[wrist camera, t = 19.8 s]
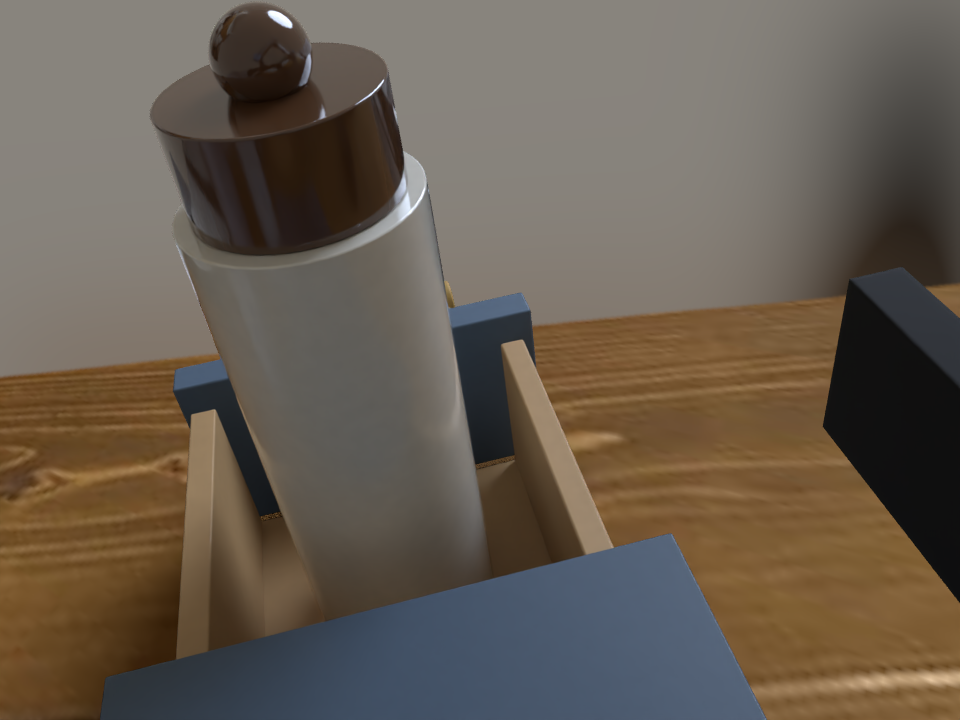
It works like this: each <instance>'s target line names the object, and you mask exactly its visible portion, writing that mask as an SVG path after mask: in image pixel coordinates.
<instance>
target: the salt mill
mask: <svg viewBox="0 0 960 720" xmlns="http://www.w3.org/2000/svg"><path fill="white" fill-rule="evenodd" d="M208 56H209V63H210V64H209V65H207V66H205V67H202V68H200V69H198V70H196V71H194V72H192V73H190V74H188V75H186V76H184V77H182V78H181V79H179V80H177V81H176V82H174V83H173V84H171V85H170V86H169V87H167V88H166V89H165V90H164V91H163V92H162V93H161V94H160V95H159V96H158V97H157V98H156V99H155V101H154V102H153V104H152V107H151V109H150V120H151V122H152V125H153V128H154V131H155V133H156V136H157V139H158V141H159V144H160V147H161V149H162V152H163V155H164V157H165V160H166V163H167V165H168V168H169V171H170V173H171V176H172V179H173V181H174V184H175V187H176V189H177V192H178V195H179V198H180V200H181V204H180V206H179V207H178V209H177V211H176V213H175V215H174V219H173V223H172V234H173V237H174V240H175V243H176V245H177V248H178V250H179V253H180V256H181V258H182V261H183V263H184V266H185V268H186V271H187V274H188V276H189V279H190V281H191V284H192V287H193V289H194V291H195V294H196V297H197V299H198V302H199V304H200V307H201V310H202V312H203V315H204V317H205V319H206V322H207V325H208V327H209V330H210V333H211V335H212V337H213V340H214V343H215V345H216V348H217V350H218V353H219V356H220V358H221V361H222V363H223V366H224V368H225V371H226V374H227V376H228V379H229V381H230V384H231V386H232V389H233V391H234V394H235V397H236V399H237V402H238V404H239V407H240V409H241V412H242V414H243V417H244V420H245V422H246V425H247V427H248V430H249V432H250V435H251V437H252V440H253V443H254V445H255V448H256V450H257V453H258V455H259V458H260V461H261V463H262V466H263V468H264V471H265V473H266V476H267V478H268V481H269V484H270V486H271V489H272V491H273V494H274V496H275V499H276V501H277V504H278V507H279V509H280V512H281V514H282V517H283V519H284V522H285V524H286V527H287V530H288V532H289V535H290V537H291V540H292V542H293V545H294V548H295V550H296V553H297V555H298V558H299V560H300V563H301V565H302V568H303V571H304V573H305V576H306V578H307V581H308V583H309V586H310V588H311V591H312V594H313V596H314V599H315V601H316V604H317V606H318V609H319V611H320V614H321V617H322V619H323V622H325V621H329V620H333V619H337V618H341V617H345V616H348V615H352V614H356V613H360V612H364V611H368V610H372V609H376V608H380V607H384V606H388V605H392V604H396V603H399V602H403V601H407V600H411V599H415V598H419V597H423V596H427V595H431V594H435V593H439V592H443V591H446V590H450V589H454V588H458V587H462V586H466V585H470V584H474V583H478V582H482V581H486V580H490V579H493V578H495V577H494V572H493V566H492V560H491V554H490V548H489V542H488V536H487V530H486V524H485V519H484V513H483V507H482V501H481V495H480V489H479V483H478V477H477V471H476V466H475V460H474V454H473V448H472V442H471V436H470V430H469V424H468V418H467V412H466V407H465V401H464V395H463V389H462V383H461V377H460V371H459V365H458V359H457V354H456V348H455V342H454V336H453V330H452V324H451V318H450V312H449V306H448V301H447V295H446V289H445V283H444V277H443V271H442V265H441V259H440V254H439V248H438V242H437V236H436V230H435V224H434V218H433V212H432V206H431V200H430V194H429V189H428V183H427V178H426V173H425V171H424V169H423V168H422V166H421V164H420V163H419V162H417V160H416V159H415V158H414V157H412V156H411V155H410V154H408V153H406V152H404V151H403V148H402V143H401V137H400V132H399V126H398V121H397V115H396V110H395V104H394V99H393V94H392V88H391V83H390V78H389V72H388V67H387V65H386V63H385V61H384V60H383V59H382V58H381V57H380V56H379V55H378V54H376V53H374V52H373V51H370V50H368V49H365V48H362V47H358V46H354V45H347V44H338V43H310V40H309V37H308V35H307V33H306V31H305V29H304V28H303V26H302V25H301V24H300V22H299V21H298V20H297V19H296V18H295V17H294V16H293V15H292V14H290V13H289V12H288V11H286V10H285V9H283V8H281V7H279V6H277V5H274V4H271V3H267V2H261V1H260V2H259V1H253V2H245V3H242V4H239V5H237V6H235V7H233V8H231V9H229V10H228V11H227V12H225V13H224V14H223V15H222V16H221V17H220V18H219V20H218V21H217V23H216V24H215V26H214V28H213V30H212V32H211V36H210V39H209V45H208Z"/></svg>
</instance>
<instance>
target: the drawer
mask: <svg viewBox="0 0 960 720" xmlns="http://www.w3.org/2000/svg"><path fill="white" fill-rule="evenodd" d="M444 283H445V289H446V295H447V301H448V306H449V312H450V318H451V324H452V330H453V336H454V342H455V348H456V354H457V359H458V365H459V371H460V377H461V383H462V389H463V395H464V401H465V407H466V412H467V418H468V424H469V430H470V436H471V442H472V448H473V454H474V460H475V464H479V463H483V462H487V461H491V460H496V459H500V458H504V457H508V456H512V455H515V460H513V461H509V462H505V463H501V464H497V465H492V466H488V467H484V468H480V469H476V471H477V477H478V483H479V489H480V495H481V501H482V507H483V513H484V519H485V524H486V530H487V536H488V542H489V548H490V554H491V560H492V566H493V572H494V577H495V578H497V577H501V576H505V575H509V574H513V573H517V572H521V571H525V570H529V569H533V568H537V567H540V566H544V565H548V564H552V563H556V562H560V561H564V560H568V559H572V558H576V557H580V556H584V555H587V554H591V553H595V552H599V551H603V550H607V549H611V548H614V547H613V545H612V543H611V540H610V538H609V536H608V533H607V531H606V529H605V526H604V524H603V522H602V520H601V517H600V515H599V513H598V510H597V508H596V506H595V503H594V501H593V499H592V497H591V494H590V492H589V490H588V487H587V485H586V483H585V480H584V478H583V476H582V474H581V471H580V469H579V467H578V464H577V462H576V460H575V457H574V455H573V453H572V451H571V448H570V446H569V444H568V441H567V439H566V437H565V434H564V432H563V430H562V428H561V425H560V423H559V421H558V418H557V416H556V414H555V411H554V409H553V407H552V404H551V402H550V400H549V398H548V395H547V393H546V391H545V388H544V386H543V384H542V381H541V379H540V377H539V375H538V372H537V370H536V362H535V352H534V341H533V331H532V321H531V311H530V309H529V306H528V304H527V302H526V300H525V298H524V296H523V294H522V293H517V294H512V295H508V296H503V297H499V298H495V299H490V300H485V301H481V302H476V303H472V304H467V305H463V306H458V307H455V305H454V300H453V296H452V292H451V288H450V285H449V283H448V282H447V281H444ZM173 392H174V395H175V397H176V399H177V401H178V403H179V406H180V408H181V410H182V412H183V415H184V417H185V419H186V421H187V423H188V426H189V428H190V441H189V457H188V473H187V489H186V505H185V521H184V537H183V554H182V570H181V586H180V602H179V618H178V634H177V650H176V659H180V658H184V657H188V656H192V655H196V654H200V653H204V652H207V651H211V650H215V649H219V648H223V647H227V646H231V645H235V644H239V643H243V642H247V641H251V640H254V639H258V638H262V637H266V636H270V635H274V634H278V633H282V632H286V631H290V630H294V629H298V628H301V627H305V626H309V625H313V624H317V623H321V622H323V619H322V617H321V614H320V611H319V609H318V606H317V604H316V601H315V599H314V596H313V594H312V591H311V588H310V586H309V583H308V581H307V578H306V576H305V573H304V571H303V568H302V565H301V563H300V560H299V558H298V555H297V553H296V550H295V548H294V545H293V542H292V540H291V537H290V535H289V532H288V530H287V527H286V524H285V522H284V519H283V517H278V518H274V519H270V520H265V521H262V520H261V518H260V516H264V515H268V514H272V513H276V512H280V509H279V507H278V504H277V501H276V499H275V496H274V494H273V491H272V489H271V486H270V484H269V481H268V478H267V476H266V473H265V471H264V468H263V466H262V463H261V461H260V458H259V455H258V453H257V450H256V448H255V445H254V443H253V440H252V437H251V435H250V432H249V430H248V427H247V425H246V422H245V420H244V417H243V414H242V412H241V409H240V407H239V404H238V402H237V399H236V397H235V394H234V391H233V389H232V386H231V384H230V381H229V379H228V376H227V374H226V371H225V368H224V366H223V363H222V361H221V360H216V361H212V362H208V363H203V364H199V365H194V366H190V367H185V368H181V369H177V370H175V376H174V387H173Z"/></svg>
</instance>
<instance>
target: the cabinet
mask: <svg viewBox="0 0 960 720" xmlns="http://www.w3.org/2000/svg"><path fill="white" fill-rule="evenodd" d="M100 720H767V719H766V717H765V715H764V713H763V711H762V709H761V707H760V705H759V703H758V701H757V699H756V697H755V695H754V693H753V692H752V690H751V688H750V686H749V684H748V682H747V680H746V678H745V676H744V674H743V672H742V670H741V668H740V666H739V664H738V662H737V660H736V658H735V656H734V654H733V652H732V650H731V648H730V646H729V644H728V643H727V641H726V639H725V637H724V635H723V633H722V631H721V629H720V627H719V625H718V623H717V621H716V619H715V617H714V615H713V613H712V611H711V609H710V607H709V605H708V603H707V601H706V599H705V597H704V595H703V593H702V592H701V590H700V588H699V586H698V584H697V582H696V580H695V578H694V576H693V574H692V572H691V570H690V568H689V566H688V564H687V562H686V560H685V558H684V556H683V554H682V552H681V550H680V548H679V546H678V544H677V543H676V541H675V539H674V537H673V535H672V534H666V535H662V536H658V537H654V538H650V539H646V540H642V541H638V542H635V543H631V544H627V545H623V546H619V547H615V548H611V549H607V550H603V551H599V552H595V553H591V554H587V555H584V556H580V557H576V558H572V559H568V560H564V561H560V562H556V563H552V564H548V565H544V566H540V567H537V568H533V569H529V570H525V571H521V572H517V573H513V574H509V575H505V576H501V577H497V578H493V579H490V580H486V581H482V582H478V583H474V584H470V585H466V586H462V587H458V588H454V589H450V590H446V591H443V592H439V593H435V594H431V595H427V596H423V597H419V598H415V599H411V600H407V601H403V602H399V603H396V604H392V605H388V606H384V607H380V608H376V609H372V610H368V611H364V612H360V613H356V614H352V615H348V616H345V617H341V618H337V619H333V620H329V621H325V622H321V623H317V624H313V625H309V626H305V627H301V628H298V629H294V630H290V631H286V632H282V633H278V634H274V635H270V636H266V637H262V638H258V639H254V640H251V641H247V642H243V643H239V644H235V645H231V646H227V647H223V648H219V649H215V650H211V651H207V652H204V653H200V654H196V655H192V656H188V657H184V658H180V659H176V660H172V661H168V662H164V663H160V664H156V665H153V666H149V667H145V668H141V669H137V670H133V671H129V672H125V673H121V674H117V675H113V676H109V677H107V678H106V679H105V685H104V693H103V700H102V708H101V716H100Z"/></svg>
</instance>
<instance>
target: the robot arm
mask: <svg viewBox="0 0 960 720" xmlns="http://www.w3.org/2000/svg"><path fill="white" fill-rule="evenodd" d="M823 427H824V429H825V430H826V431H827V433H828V434H829V435H830V437H831V438H832V439H833V440H834V442H835V443H836V444H837V446H838V447H839V448H840V449H841V451H842V452H843V453H844V455H845V456H846V457H847V458H848V460H849V461H850V462H851V464H852V465H853V466H854V467H855V469H856V470H857V471H858V473H859V474H860V475H861V476H862V478H863V479H864V480H865V482H866V483H867V484H868V485H869V487H870V488H871V489H872V491H873V492H874V493H875V494H876V496H877V497H878V498H879V500H880V501H881V502H882V503H883V505H884V506H885V507H886V509H887V510H888V511H889V512H890V514H891V515H892V516H893V518H894V519H895V520H896V521H897V523H898V524H899V525H900V527H901V528H902V529H903V530H904V532H905V533H906V534H907V536H908V537H909V538H910V539H911V541H912V542H913V543H914V545H915V546H916V547H917V548H918V550H919V551H920V552H921V554H922V555H923V556H924V557H925V559H926V560H927V561H928V563H929V564H930V565H931V566H932V568H933V569H934V570H935V572H936V573H937V574H938V575H939V577H940V578H941V579H942V581H943V582H944V583H945V584H946V586H947V587H948V588H949V590H950V591H951V592H952V593H953V595H954V596H955V597H956V599H957V600H958V601H959V602H960V318H959V317H957V316H956V315H955V314H954V313H953V312H952V311H951V310H950V309H948V308H947V307H946V306H945V305H944V304H943V303H942V302H941V301H940V300H938V299H937V298H936V297H935V296H934V295H933V294H932V293H931V292H929V291H928V290H927V289H926V288H925V287H924V286H923V285H922V284H920V283H919V282H918V281H917V280H916V279H915V278H914V277H912V276H911V275H910V274H909V273H908V272H907V271H906V270H905V269H904V268H902V267H901V268H896V269H892V270H887V271H883V272H879V273H874V274H870V275H866V276H861V277H857V278H853V279H849V284H848V290H847V295H846V301H845V306H844V312H843V317H842V323H841V328H840V334H839V339H838V345H837V350H836V356H835V362H834V367H833V373H832V378H831V384H830V389H829V395H828V400H827V406H826V411H825V417H824V423H823Z"/></svg>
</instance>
